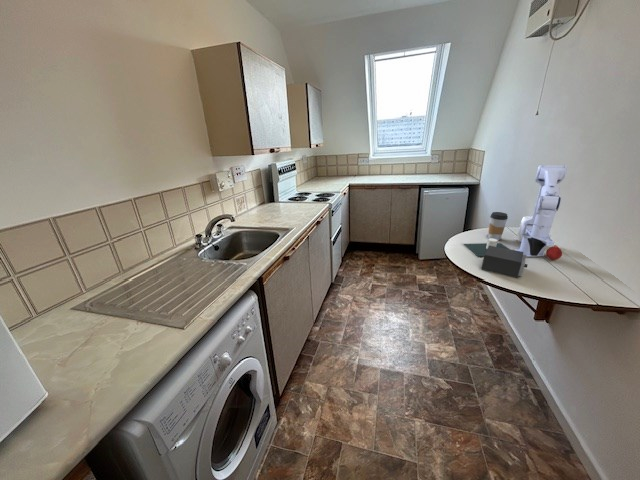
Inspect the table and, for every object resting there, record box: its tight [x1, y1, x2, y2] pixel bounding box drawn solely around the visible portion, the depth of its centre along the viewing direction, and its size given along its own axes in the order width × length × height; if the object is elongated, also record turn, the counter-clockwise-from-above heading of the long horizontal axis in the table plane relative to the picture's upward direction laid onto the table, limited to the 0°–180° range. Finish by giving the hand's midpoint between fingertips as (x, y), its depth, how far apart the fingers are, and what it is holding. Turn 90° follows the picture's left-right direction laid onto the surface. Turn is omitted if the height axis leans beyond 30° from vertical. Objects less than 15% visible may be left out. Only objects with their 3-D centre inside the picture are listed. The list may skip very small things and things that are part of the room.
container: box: [486, 238, 499, 249], centre depth 141 cm, size 4×4×5 cm
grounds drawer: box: [518, 254, 529, 277], centre depth 120 cm, size 14×11×6 cm
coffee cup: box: [487, 211, 509, 241], centre depth 152 cm, size 8×8×15 cm
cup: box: [516, 215, 532, 243], centre depth 145 cm, size 8×8×14 cm
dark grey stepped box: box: [481, 246, 523, 279], centre depth 121 cm, size 14×13×8 cm
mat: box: [463, 242, 510, 258], centre depth 141 cm, size 20×16×1 cm
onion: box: [545, 244, 563, 261], centre depth 126 cm, size 6×6×8 cm
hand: (533, 255), depth 113 cm, fingers closed
